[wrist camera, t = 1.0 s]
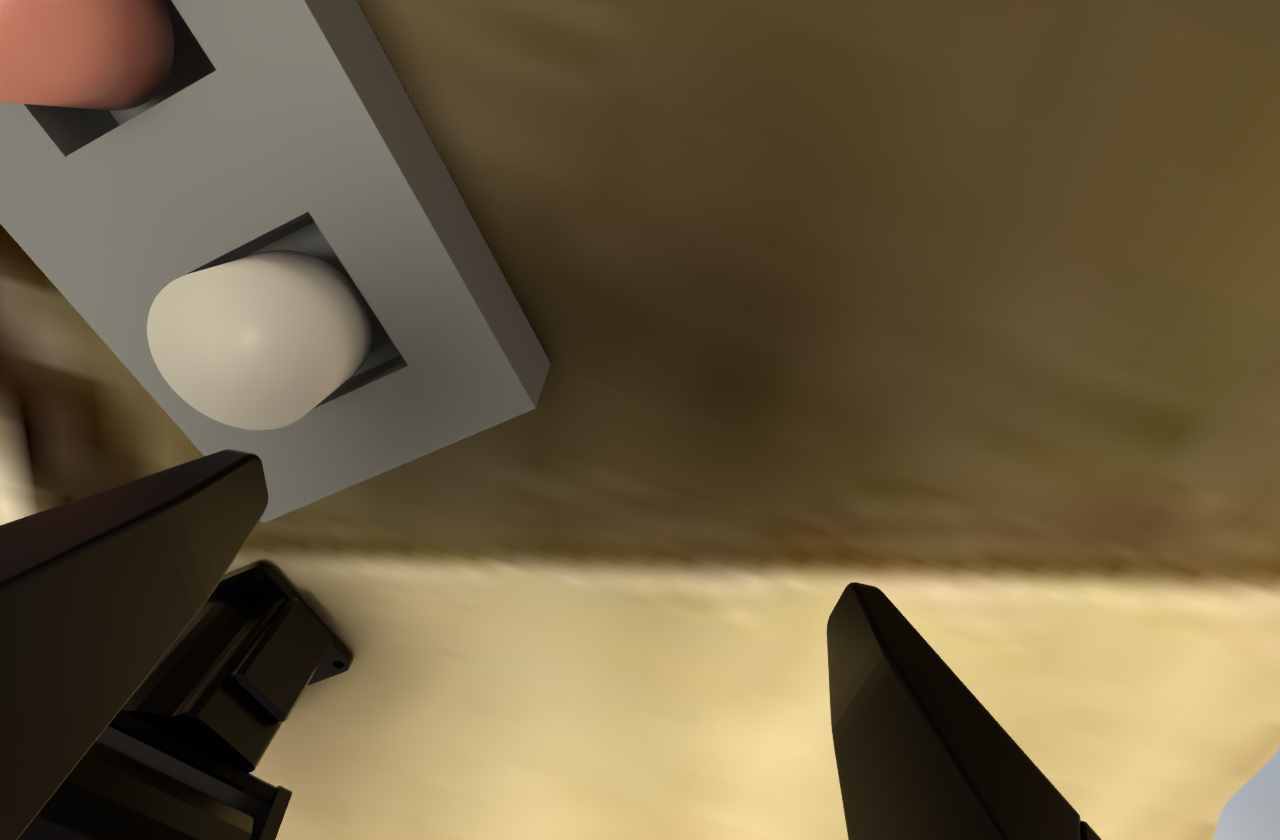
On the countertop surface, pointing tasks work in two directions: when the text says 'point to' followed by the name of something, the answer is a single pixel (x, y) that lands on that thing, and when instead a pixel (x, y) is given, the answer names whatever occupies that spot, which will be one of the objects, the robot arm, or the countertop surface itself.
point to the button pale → (259, 337)
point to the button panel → (280, 231)
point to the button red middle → (84, 52)
